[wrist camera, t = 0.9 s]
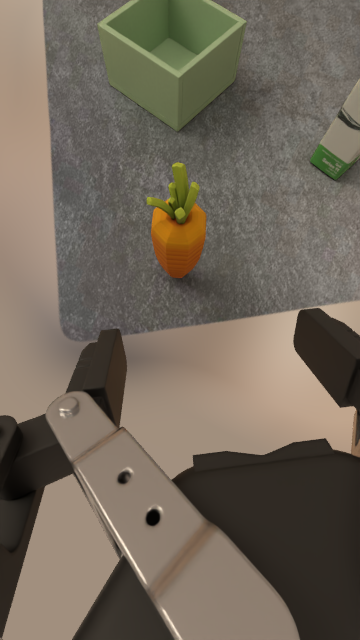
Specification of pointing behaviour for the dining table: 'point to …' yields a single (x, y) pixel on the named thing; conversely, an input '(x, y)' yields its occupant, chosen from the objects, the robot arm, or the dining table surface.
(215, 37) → the bin
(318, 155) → the ink box
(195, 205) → the carrot
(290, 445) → the robot arm
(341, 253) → the dining table surface
